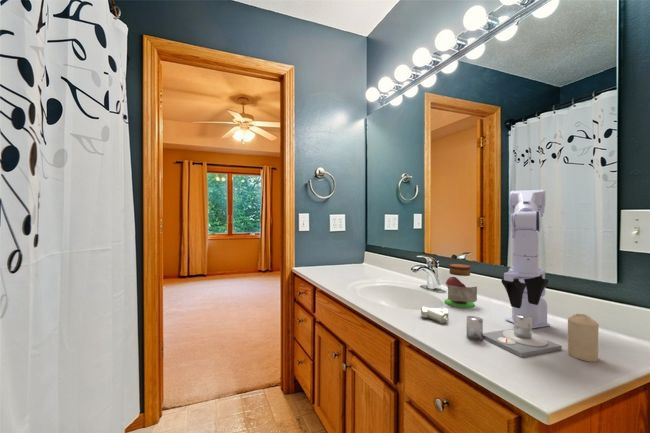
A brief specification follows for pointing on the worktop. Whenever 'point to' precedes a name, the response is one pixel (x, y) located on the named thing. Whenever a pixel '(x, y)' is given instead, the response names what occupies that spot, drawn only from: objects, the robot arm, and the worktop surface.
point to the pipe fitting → (435, 314)
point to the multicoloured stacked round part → (460, 288)
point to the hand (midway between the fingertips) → (524, 305)
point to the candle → (583, 337)
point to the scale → (521, 343)
